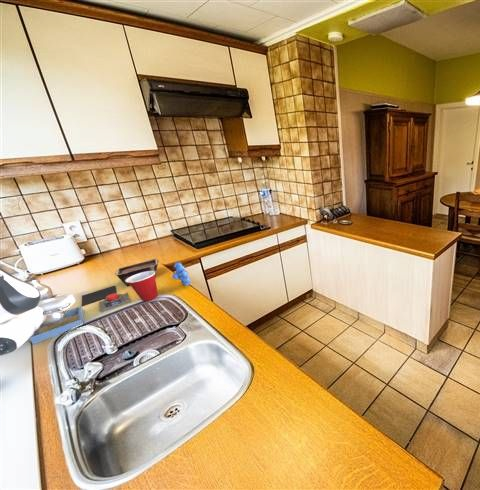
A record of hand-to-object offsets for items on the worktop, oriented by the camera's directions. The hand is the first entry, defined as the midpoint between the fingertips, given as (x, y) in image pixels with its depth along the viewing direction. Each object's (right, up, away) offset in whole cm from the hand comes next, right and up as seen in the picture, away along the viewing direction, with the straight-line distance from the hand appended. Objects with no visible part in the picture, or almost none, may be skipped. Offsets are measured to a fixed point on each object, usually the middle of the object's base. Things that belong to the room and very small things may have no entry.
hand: (44, 299), depth 102 cm
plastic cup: (+24, -4, +21) cm, 32 cm away
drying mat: (-4, -3, +25) cm, 25 cm away
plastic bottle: (+1, -11, +4) cm, 11 cm away
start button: (+10, -3, +17) cm, 20 cm away
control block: (+10, -6, +18) cm, 21 cm away
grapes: (+33, +1, +30) cm, 45 cm away
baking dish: (+5, +3, +39) cm, 39 cm away
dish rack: (+1, -12, +4) cm, 13 cm away
